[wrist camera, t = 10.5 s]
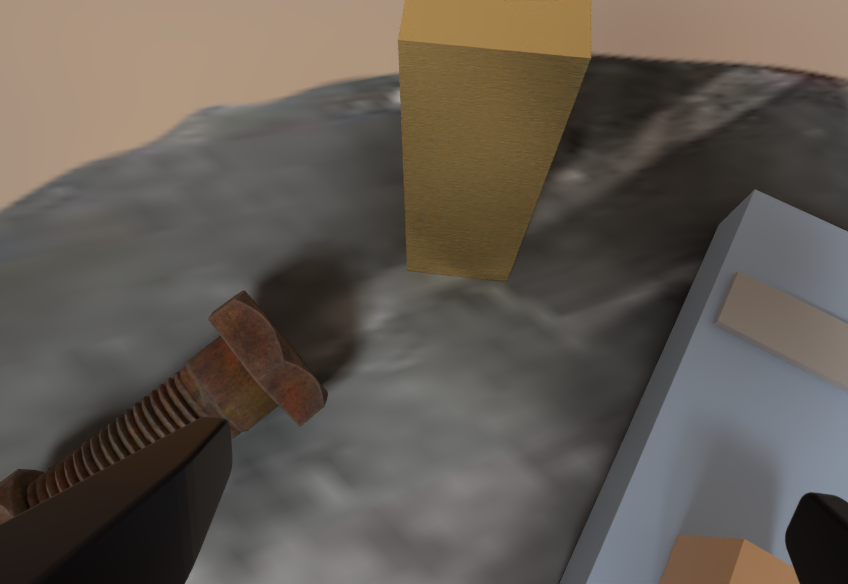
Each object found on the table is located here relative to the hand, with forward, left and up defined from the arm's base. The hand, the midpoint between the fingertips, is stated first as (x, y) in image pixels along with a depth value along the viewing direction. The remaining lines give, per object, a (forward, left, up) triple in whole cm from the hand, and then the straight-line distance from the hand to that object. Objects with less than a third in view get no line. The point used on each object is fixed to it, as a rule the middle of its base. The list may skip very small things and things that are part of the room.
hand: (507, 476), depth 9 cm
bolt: (+4, +12, -14) cm, 19 cm away
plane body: (0, -11, -14) cm, 18 cm away
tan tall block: (+11, -3, -14) cm, 18 cm away
